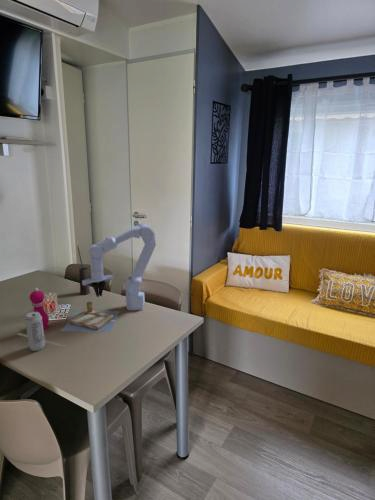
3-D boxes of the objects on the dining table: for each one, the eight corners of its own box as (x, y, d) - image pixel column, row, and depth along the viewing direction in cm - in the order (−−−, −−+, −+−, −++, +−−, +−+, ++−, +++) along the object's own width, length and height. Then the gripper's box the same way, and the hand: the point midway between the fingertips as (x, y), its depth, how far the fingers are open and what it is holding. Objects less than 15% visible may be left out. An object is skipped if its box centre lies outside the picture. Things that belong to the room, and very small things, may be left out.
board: (119, 312, 167) (119, 311, 167) (110, 333, 148) (110, 331, 147) (75, 312, 167) (75, 310, 167) (60, 332, 148) (60, 331, 148)
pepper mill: (33, 334, 146) (27, 292, 141) (32, 327, 152) (26, 286, 147) (50, 331, 149) (45, 289, 144) (49, 324, 156) (44, 283, 150)
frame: (113, 317, 160) (113, 306, 158) (97, 329, 149) (97, 317, 147) (86, 311, 166) (85, 300, 164) (69, 322, 155) (68, 310, 153)
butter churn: (97, 289, 196) (93, 243, 188) (93, 296, 187) (89, 247, 179) (81, 289, 196) (77, 243, 188) (76, 296, 186) (72, 247, 179)
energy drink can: (40, 342, 140) (36, 309, 136) (48, 347, 137) (44, 313, 133) (26, 348, 136) (21, 314, 132) (33, 353, 132) (29, 319, 128)
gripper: (108, 264, 167) (110, 290, 171) (79, 269, 159) (81, 296, 163) (113, 268, 161) (115, 294, 165) (83, 274, 154) (86, 301, 157)
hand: (98, 295), depth 164 cm, fingers closed
